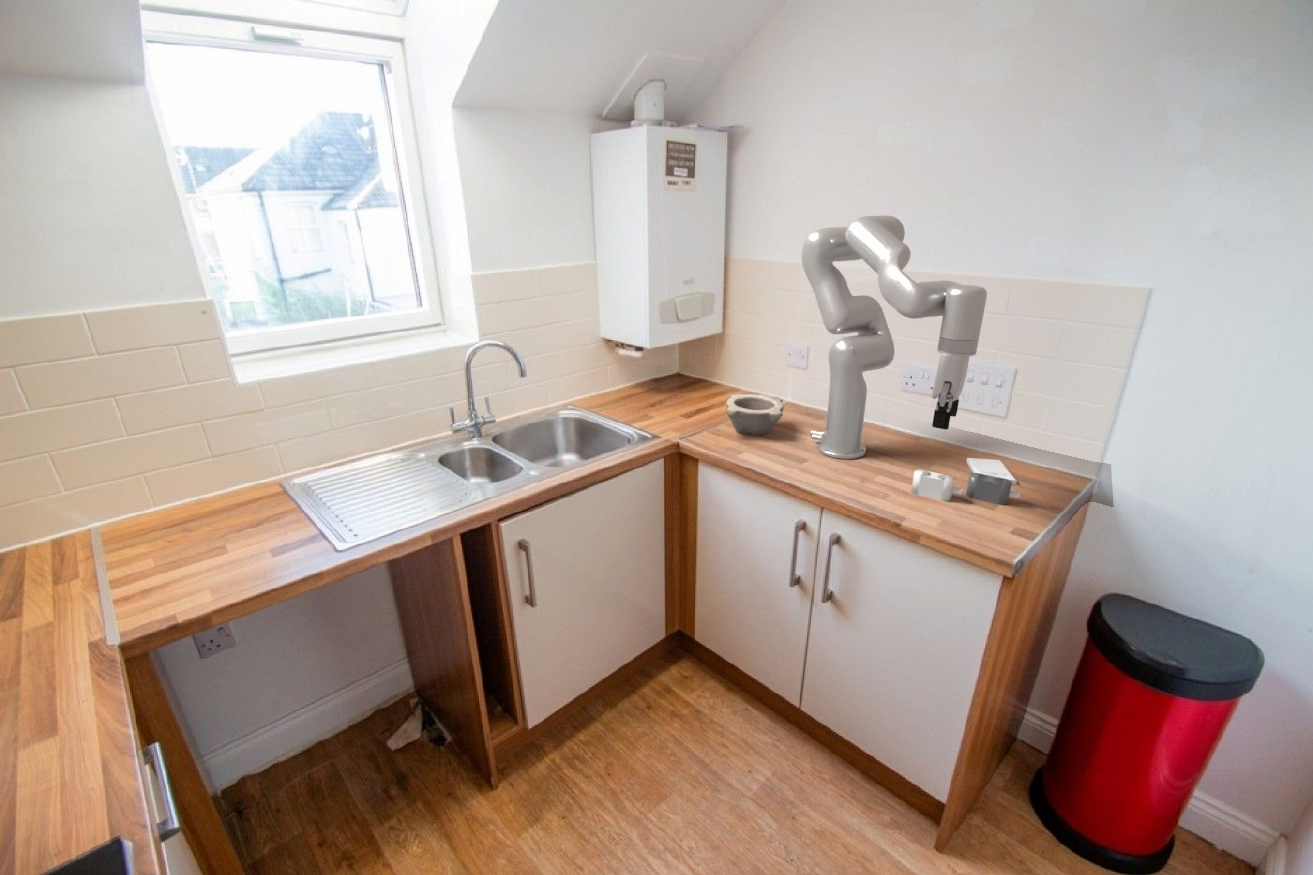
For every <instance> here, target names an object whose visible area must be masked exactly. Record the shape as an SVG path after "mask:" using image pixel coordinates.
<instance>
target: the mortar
mask: <svg viewBox="0 0 1313 875" xmlns="http://www.w3.org/2000/svg"><path fill="white" fill-rule="evenodd" d="M725 407H726V409H725V410H726V415H727V417H728V418H729V419H730V422H731V424H732V425H733V427H734V429H735V430H736V431H737V432H739V433H740V434H743V435H747V436H755V437H756V436H757V437H759V436H764V435H767V434H769V433H770V432H772V430H773V429H774V428H775V426H776V424H777V423H778V422H779V421H780V420H781V419H782V417H783V411H784V408H785V405H784V403H783V399H782V398H781V397H778V396H772V395H771V396H770V395H763V394H753V393H752V394H750V393H743V394H741V393H736V394H731V395H730V396H729V398H728V399H727V400H726V403H725Z"/></svg>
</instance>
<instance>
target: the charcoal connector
mask: <svg viewBox="0 0 1313 875" xmlns="http://www.w3.org/2000/svg"><path fill="white" fill-rule="evenodd" d="M1012 485H1013V484H1012V482H1011V481H1010V480H1008V479H1004V478H999V477H994V476H990V475H985V474H980V473H973V472H972V473H970V474H969V476H968V480H967V485H966V486H967V487H966V491H965V495H966V496H967V497H968V498H970V499H972V500H973V499H974V500H977V501H982V502H987V503H989V504H990V503H991V504H996V505H1000V506H1005V505H1008V502H1009V498H1010V497H1011V498H1016V499H1020V496H1021V492H1020V491H1015V490H1012Z"/></svg>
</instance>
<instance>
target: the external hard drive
mask: <svg viewBox="0 0 1313 875" xmlns="http://www.w3.org/2000/svg"><path fill="white" fill-rule="evenodd" d="M965 461H966V464H967V465H968V467H969V468H970V469H971V471H972V473H980V474H985V475H990V476H994V477H999V478H1004V479H1008V480H1010V481H1011V482H1012V485H1015V484H1016V485H1018V484H1017V483H1018V480H1017V479H1016V478H1015V477H1014V476H1013V474H1012V473H1011V472H1010V470H1009V469H1008V468H1007V466H1006V465H1005V464H1004V463H1003V462H1002V461H1001V460H999V459H990V458H976V457H967V458H966V460H965Z"/></svg>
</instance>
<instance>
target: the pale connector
mask: <svg viewBox="0 0 1313 875" xmlns="http://www.w3.org/2000/svg"><path fill="white" fill-rule="evenodd" d="M954 485H955V478H954V476H951V475H948V474H943V473H938V472H934V471H929V470H926V469H925V470H924V469H916V470H914V473H913V478H912V484H911V489H910V490H911V491H910V492H911V494H913V495H916V496H920V497H924V498H929V499H933V500H937V501H942V502H949V501H951V500H952V496H953V494H956V495H960V496H961V495H962V494H963V492H964V489H963V488H959V487H955V486H954Z"/></svg>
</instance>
